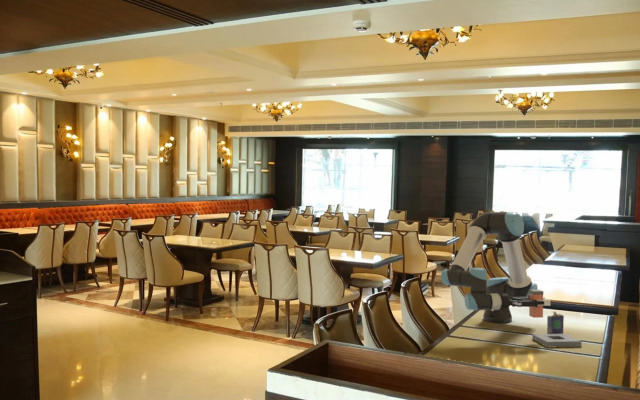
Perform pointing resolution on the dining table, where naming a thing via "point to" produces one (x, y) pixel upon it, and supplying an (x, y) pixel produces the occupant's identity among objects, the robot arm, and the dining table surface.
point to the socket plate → (557, 340)
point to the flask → (555, 324)
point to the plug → (537, 311)
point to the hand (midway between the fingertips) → (547, 301)
